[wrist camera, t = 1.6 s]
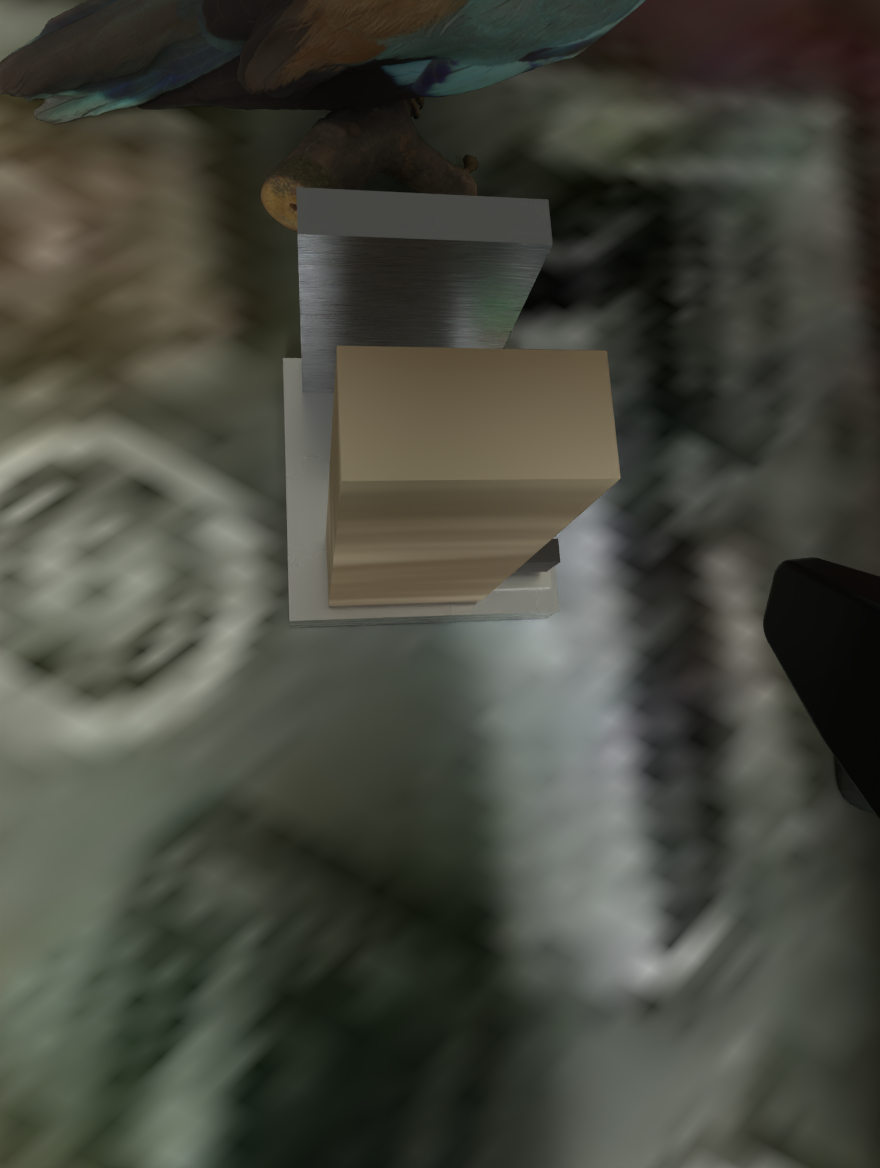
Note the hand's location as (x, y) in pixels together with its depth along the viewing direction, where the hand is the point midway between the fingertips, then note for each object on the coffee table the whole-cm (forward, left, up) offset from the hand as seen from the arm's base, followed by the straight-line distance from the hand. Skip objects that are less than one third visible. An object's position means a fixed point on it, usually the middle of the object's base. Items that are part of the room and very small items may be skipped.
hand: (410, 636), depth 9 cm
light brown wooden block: (+3, -3, -12) cm, 12 cm away
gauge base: (+5, -2, -13) cm, 14 cm away
